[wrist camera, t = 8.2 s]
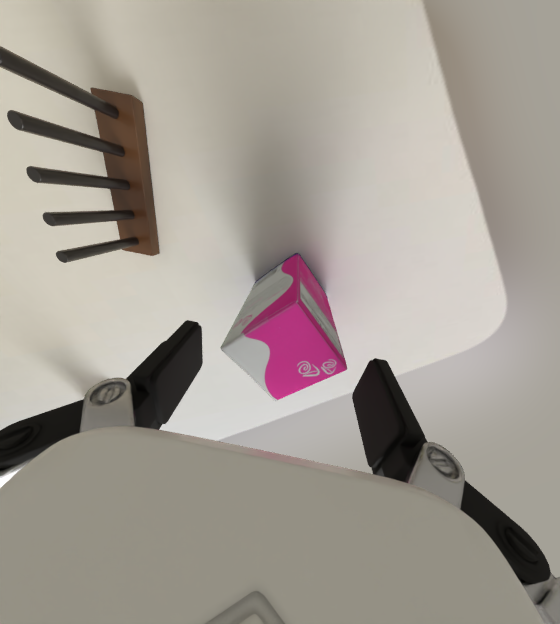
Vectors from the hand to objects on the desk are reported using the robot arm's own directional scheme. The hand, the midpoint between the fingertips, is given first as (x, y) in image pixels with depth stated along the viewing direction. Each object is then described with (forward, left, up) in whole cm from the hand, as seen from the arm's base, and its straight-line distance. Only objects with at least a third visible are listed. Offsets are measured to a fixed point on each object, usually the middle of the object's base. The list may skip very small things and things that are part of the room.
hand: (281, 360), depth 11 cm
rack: (-7, -16, -12) cm, 21 cm away
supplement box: (+1, 0, -12) cm, 12 cm away
